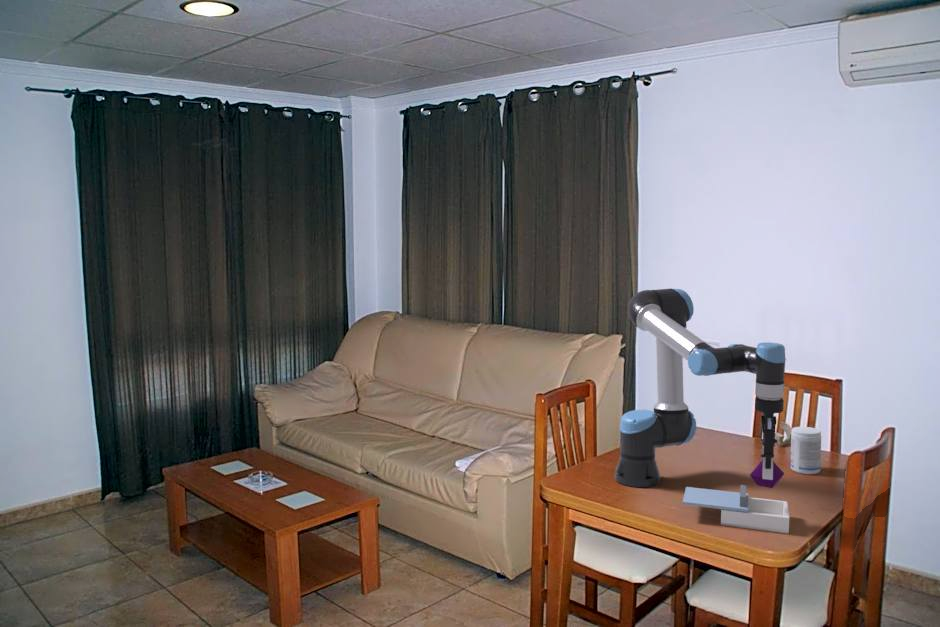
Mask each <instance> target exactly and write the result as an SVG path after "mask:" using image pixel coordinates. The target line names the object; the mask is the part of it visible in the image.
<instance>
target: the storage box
mask: <svg viewBox="0 0 940 627" xmlns="http://www.w3.org/2000/svg"><path fill="white" fill-rule="evenodd" d="M788 505H789V504H788V501H785V500H777V499H769V498H760V497H759V498H758V497H750V496H748V512H742V511H734V510H726V509H720V511H721V512H720V526H726V527H734V528H742V529H751V530H758V531H764V532H765V531H767V532H773V533H783V534H789V533H790V513H789V506H788Z"/></svg>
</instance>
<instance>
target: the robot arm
mask: <svg viewBox="0 0 940 627" xmlns="http://www.w3.org/2000/svg"><path fill="white" fill-rule="evenodd" d="M627 314H628V315H627V316H628V318H629V320H630V321H631V322H632V325H634V326H636V327H637V328H638V329H639V330H641V331H644V332H649V333H650V334H651V335H653V336H654V337H655V338H656V340H655V341H656V342H655V343H656V374H657V376H656V380H657V402H656V403H655V404H654V405H653V410H651V409H633V410H630V411H627V412H626V413H624V414H623V415H622V416H621V419H620V425H619V430H620V434H619V436H620V438H619V439H620V440H619V442H620V443H619V444H620V447H619V449H620V450H619V454H620V455H619V459H618V463H617V465H616V467H615V470H614V471H615V472H614V480H615V481H616V482H617V483H619V484H620V485H623V486H627V487H631V488H633V487H634V488H650V487H655V486H657V485H659V484H660V483H661V473H660V470H659V466H658V464H657V461H656V460H657V459H656V449H658V448H659V449H660V448H665V447H673V446H681V445H683V444H688V443H690V442H691V440H693V439H694V437H695V434H696V432H697V420H696V418H695V415H694V413H693V412H692V411H690V410H689V406H688V404H686V402H685V400H684V399H685V398H684V367H683V365H684V363H683V361H684V360H683V358H684V359H685V360H686V361H687V365H688V368H689V369H690V372H691V373H692V374H693V375H695V376H697V377H698V376H699V377H700V376H704V377H709V376H713V375H720V374H721V375H722V374H731V373H741V372H745V373H751V374H755V390H754V394H755V396H756V397H755V401H754V409H755V410H756V411H757V412H759V413H762V414H763V415H761V417H760V418H761V419H760V421H761V423H760V424H761V431H762V439H763V438H764V442H763V441H762V448H761V449H762V451H761V454H760V458H761V459H762V458H763V473H762V479H768V480H773V461H774V457H775V453H774V449H775V448H774V447H775V444H774V434H775V433H776V425H777V416H775V414H780V413H783V412H784V407H785V406H784V403H785V400H784V394H785V390H787V386H785V369H786V360H787V359H786V348H785V346H784V345H783V344H782V343H778V342H760V343H758V344H757V346H756V347H755V346H750V345H745V344H744V343H743V344H741V343H740V344H739V343H732V344H730V345H728V346H727V347H716V348H715V347H713V346H712V345H710V344H709V343H707V342H705V341H704V340H702V339H701V338H700V337H699V336H697V335H695V334H694V333H693V332H691V331H689V330H688V329H687V322H689V321H690V320H691V319H692V316H693V317H694V303H693V300H692V297H690V295H689V294H688V292H686V291H685V290H683V289H681V288H662V289H644V290H641V291H638V292H636V293H635V294H634V295H633V296H632V297H631V298H630V300H629V301H628V304H627ZM764 425H765V429H764ZM766 452H769V453H766Z"/></svg>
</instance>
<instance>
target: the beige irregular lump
mask: <svg viewBox="0 0 940 627" xmlns="http://www.w3.org/2000/svg"><path fill="white" fill-rule="evenodd" d="M779 426H780V428H781V430H782V431H783V432H785V434H786V438H785V435H784V434H781V433H780V432H776V431H775V434H776V435H775V439H776V440H777V443H775V444H776V445H779V446H780V447H782V446H786V445H787V446H788V445H790V446H791V432H792V427H791V426H790V424H788V423H787V422H784V421H782V422H781V423H780V424H779ZM784 438H785V439H784ZM783 439H784V440H783ZM775 444H774V445H775ZM785 444H786V445H785Z"/></svg>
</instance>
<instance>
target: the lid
mask: <svg viewBox="0 0 940 627" xmlns="http://www.w3.org/2000/svg"><path fill="white" fill-rule="evenodd" d="M739 486H740V488H739V492H737V491H729V490H719V489H708V488H700V487H692V486H686V487H685V489H684V490H685V491H684V494H683V499H682V505H685V506H694V507H700V508H702V507H703V508H709V509H720V510H721V509H726V510H734V511H742V512H748V497H749V493H747V485H746V484H745V485H744V484H739Z"/></svg>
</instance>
